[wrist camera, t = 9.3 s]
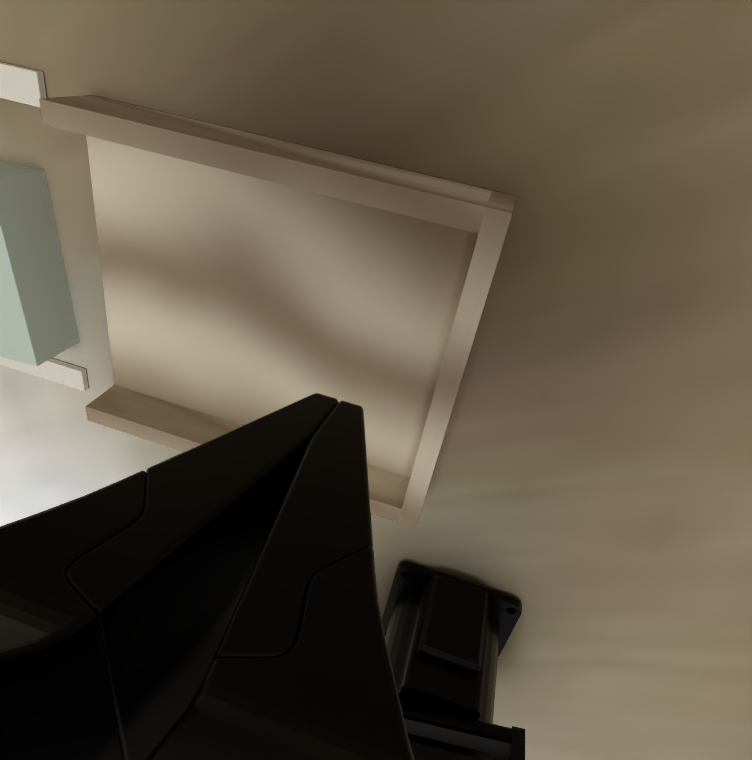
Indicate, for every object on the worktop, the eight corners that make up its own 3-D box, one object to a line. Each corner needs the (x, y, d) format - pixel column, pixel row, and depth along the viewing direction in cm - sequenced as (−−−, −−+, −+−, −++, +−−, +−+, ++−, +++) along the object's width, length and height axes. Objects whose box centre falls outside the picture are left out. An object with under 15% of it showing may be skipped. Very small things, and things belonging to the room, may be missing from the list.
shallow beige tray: (426, 489, 25) (416, 527, 23) (122, 393, 27) (87, 420, 25) (516, 196, 18) (512, 213, 16) (91, 95, 20) (38, 98, 18)
